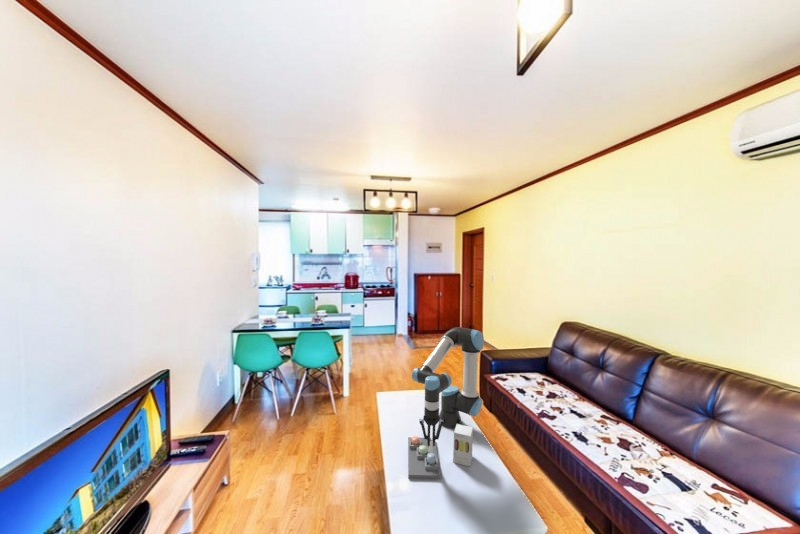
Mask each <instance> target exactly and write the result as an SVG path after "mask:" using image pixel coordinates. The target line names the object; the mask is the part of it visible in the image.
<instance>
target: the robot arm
mask: <svg viewBox="0 0 800 534" xmlns="http://www.w3.org/2000/svg"><path fill="white" fill-rule="evenodd" d="M484 345H485V339H484V334H483V333H482V331H480V330H477V329H472V328H465V327H461V326H460V327H459V326H457V327H452V328H451V329H449V330H447V331H446V332H445V333H444V334H443V335H442V336H441V337H440V341H439V343H438V344H437V345H436V347H435V348H434V350H433V351H432V352H431V354H430V355H429V356H428V357H427V359H426V360H425V361H424V363H423V364H422V365H421V367H415V368H414V369H413V370H412V372H411V379H412V381H414V382H416V383H418V384H422V385H424V415H423V417H422V418H419V424H420V426H421V430H422V435H423V438H424V439H427V444H428V446H429V451H430V453H433V446H435V442H436V440H439V438H440V436H441V432H442V431H441V430H442V428H443V427H444V428H448V429H455V428H456V425H457V424H460V425H462V416H461V414H460V412H461V413H463V414H466V415H469V416H472V417H477V416H479V414H480V412H481V409H482V406H483V399H482V398H481V397H480V393H479V392H478V388H477V387H478V386H477V385H478V359H479V357H478V355H479V354H480V353H481V351H482V350H483V349H484ZM455 346H459V347H461V352H462V353H463V373H462V375H463V376H462V378H463V379H462V389H461V390H460V388H459V387H458V386H457V385H452V382H453V381H452V377H451V375H450V374H448V373H447V372H443V373H436V370H437V369H438V367H439V365H441V363H442V361H443V360H444V358H445V357H446V355H447V354H448V352H450V349H453V348H454V347H455ZM440 393H441V394H440ZM440 396H441V398H440ZM440 400H441V401H440ZM440 405H441V407H440ZM440 408H441V409H440ZM425 424H426V425H427V433H426V428H425ZM437 424H438V426H437ZM431 426H432V434H431ZM436 426H437V428H436ZM436 429H437V430H436ZM431 435H432V437H431Z"/></svg>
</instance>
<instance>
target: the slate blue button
mask: <svg viewBox="0 0 800 534" xmlns="http://www.w3.org/2000/svg"><path fill="white" fill-rule="evenodd" d="M427 463H428V464H429V465H434V464H435V463H436V455H435V454H434V453H428V454H427Z"/></svg>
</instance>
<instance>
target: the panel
mask: <svg viewBox="0 0 800 534" xmlns="http://www.w3.org/2000/svg"><path fill="white" fill-rule="evenodd" d="M412 437H413V436H412ZM412 437H408V439H407V441H408V442H407V443H408V444H407V447H408V448H407V450H408V451H407V453H408V455H407V456H408V457H407V460H408V465H407V466H408V468H407V469H408V470H407V471H408V472H407V473H408V475H407V476H408V479H409V480H410V479H414V480H418V479H419V480H441V471H440V465H439V456H438V451H437V444H436V443H437V442H436V441H435V446H433V453H434V454H435V455H436V463H435V464H434V465H429V464H428V463H427V455H419V446H421V445H424V446H426V447H427V454H428V453H430V451H429V446H428V444H427V439H424V437H418V438H419V445H411V438H412Z"/></svg>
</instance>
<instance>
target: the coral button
mask: <svg viewBox="0 0 800 534" xmlns="http://www.w3.org/2000/svg"><path fill="white" fill-rule="evenodd" d="M419 438H420V437H419V436H416V435H414V436H412V438H411V445H419Z"/></svg>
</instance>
